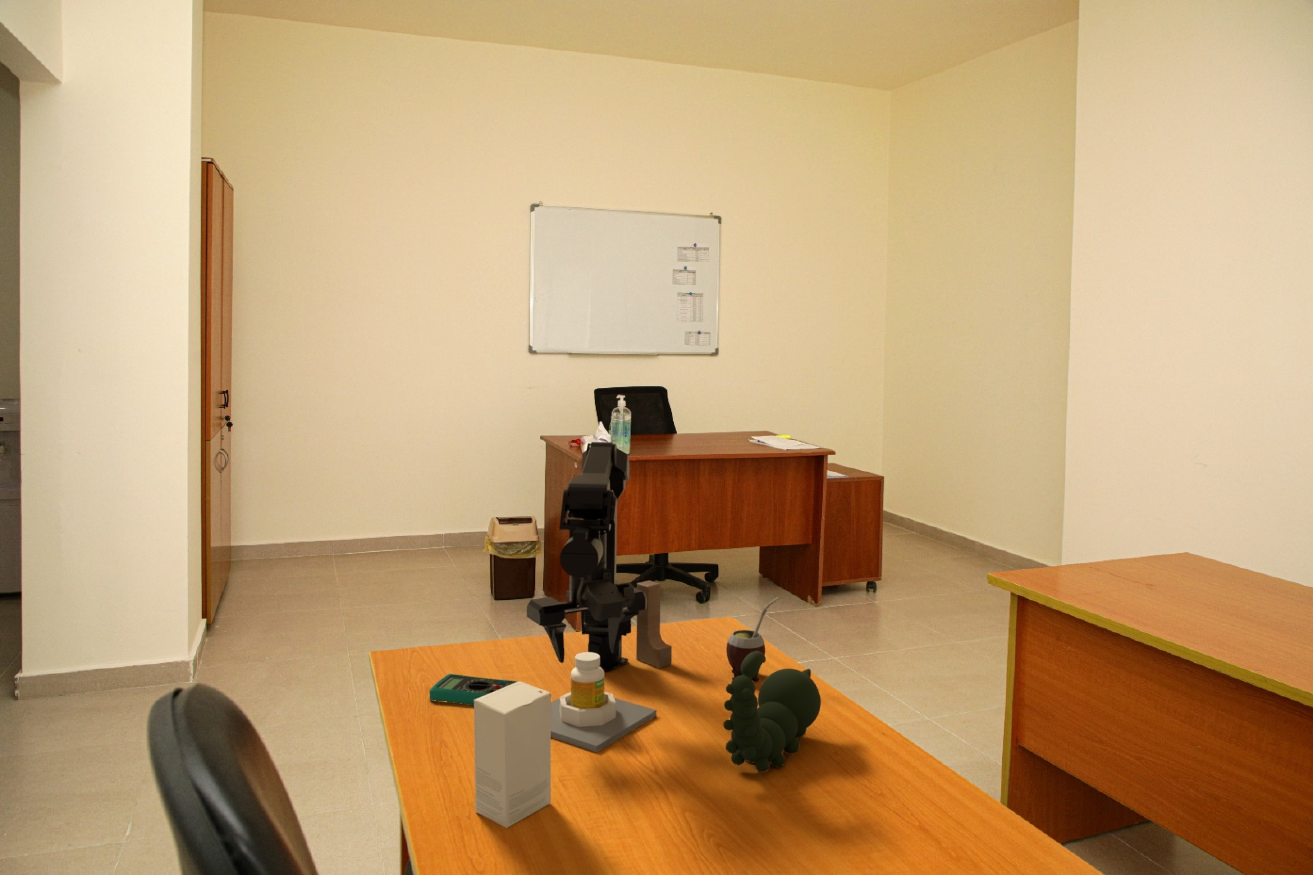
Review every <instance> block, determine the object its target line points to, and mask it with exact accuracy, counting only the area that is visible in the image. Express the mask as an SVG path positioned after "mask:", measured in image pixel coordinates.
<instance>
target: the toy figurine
mask: <svg viewBox="0 0 1313 875" xmlns="http://www.w3.org/2000/svg"><path fill="white" fill-rule="evenodd" d="M766 661H767V659H766V654H765V655H764V654H763V653H762V652H759V651H754V652H751V653H750V654H748V655H747V656H746V657H745V659H744V660H743V662H742V664H741V673H742V675H741V676H737V677H736V678H734V679H733V680H732V681H731V683H730V684H727V685H726V687H725V692H726V693H727V694H730V695H731V696H730V698H729V699H727V700H725V701H724V703H723V706H724V707H723V708H724V709H725V710H726V711H727V712H731V714H730V716H729V718H727V719H726V720H725V721H723V728H724V729H725V730H726V731H728V732H729V731H731V733H730V734H731V735H730V736H731V737H730V738H731V739H730V740H728V741H727V742H726V743H725V750H726V752H728V753H729V754H731V756H730V760H731V763H733V764H734V765H736V766H742V765H743V764H745V762H746V761H747V762H749V763H752V764H754V766H755V769H756V771H758V772H760V773H765V772H768V771H769V769H770V767H771V765H772V766H773V767H775V768H778V769H780V768H782V767H784V765H785V762H786V758H785V756H784V754H783V752H785V753H786V754H789V755H793V754H796V753H797V752H798V751H799V748H800V746H801V744H800V741H799V739H800V738H802V737H804V736H805V734H806V733H807V731H808V730H807V729H808V728H809V727H810V726H812V725H813V724H814V722H815V721H816V720H817V718H818V716H819V714H820V711H821V705H822V698H821V697H822V696H821V693H820V691H819V688H818V687H817V684H816V683H815V682H814V680H813V679H812V678H811V677H812V671H811V668H807V669H804V670H802V671H801V670H798V669H796V668H781V669H778V670H776V671H773V672H772V673H771V674H769V675H768V676H767V677H766V678H765V679H764V680H763V682H762V684H761V686H760V687H759V691H758V697H757V696H756V684H755V682H754V681H753V680H752V679H751V678H753V677H754V676H755V675H756V674H757V673H758V671H759V672H760V669H761V667H762V665H763V664H764V663H766ZM761 664H762V665H761ZM758 674H759V673H758Z"/></svg>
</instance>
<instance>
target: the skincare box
mask: <svg viewBox="0 0 1313 875" xmlns="http://www.w3.org/2000/svg"><path fill="white" fill-rule="evenodd" d="M517 681H518V680H517ZM551 698H552V693H551V692H549V691H548V690H544V689H542V688H539V687H537V686H533V685H531V684H528V683H526V682H524V681H520V680H519V681H518V682H516V683H513V684H511V685H509V686H506V687H504V688H502V689H499V690H497V691H494V692H492V693H490V694H487V695H485V696H482V697H480V698H477V699H475V700H474V705H473V716H474V717H473V718H474V720H473V721H474V722H473V723H474V727H473V728H474V729H473V730H474V732H473V733H474V788H475V789H474V791H475V793H474V799H475V800H474V803H475V806H474V807H475V808H474V809H475V810H474V811H475V812H476V813H477V814H479V815H481V816H483V817H484V818H487V819H488V820H490V821H492V822H494V823H496V824H498V825H500V826H502V827H503V828H505V829H508V828H509V827H511V826H513V825H516V823H518V822H520V821H522V820H523V819H525V818H527V817H529V816H531V815H533V814H534V813H536V812H538V811H539V810H541V809H543V808H545V807H547V806H548V805H550V804H551V803H552V777H551V776H552V774H551V773H552V772H551V771H552V768H551V767H552V765H551V762H552V761H551V760H552V759H551V758H552V755H551V750H552V749H551V747H552V745H551V744H552V742H551V740H552V737H551V702H552V701H551Z"/></svg>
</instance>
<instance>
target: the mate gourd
mask: <svg viewBox="0 0 1313 875" xmlns="http://www.w3.org/2000/svg"><path fill="white" fill-rule="evenodd" d="M779 598H780V597H775V598H774V599H773V600H771V601H770V602H768V603H767V604H766V605H765V606H764V608H762V610H761V612H760V616H759V619H758V623H757V624H756V627H755V630H750V629H740V630H739V629H738V630H735V631H733V632H732V633H731V634H730V635H729V637H728V638H727V643H726V649H725V650H726V657H727V660H728V664H729V665H730V667H731V668H732V670H731V673H732V674H733V677H731V679H732V680H733V679H734V678H736V677H737V676H741V675H742V673H741V664H742V662H743V660H744V659H745V657H746V656H747V655H748V654H750V653H751V652H754V651H759V652H762V653H763V654H764V655H765V656H766V646H765V639H764V638H763V637H762V635H761V633H759V629H760V628H761V625H762V622H763V619H764V616H765V615H766V613H767V612H768V609H769V608H770V607H771V606H772V605H773V604H774V603H775V602H776V601H778V600H779ZM762 665H763V663H762V664H761V666H762ZM759 673H760V670H759V671H758V673H757V674H756V675H755V676H754V677H753V678H751V679H752V680H753V682H754V683H759V682H760V678H758V675H759Z"/></svg>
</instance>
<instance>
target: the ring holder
mask: <svg viewBox="0 0 1313 875" xmlns="http://www.w3.org/2000/svg"><path fill="white" fill-rule="evenodd" d="M655 717H657V709H655V708H651V707H648V706H645V705H640V704H637V703H633V702H632V701H631V702H630V701H627V700H622V699H620V698H616V697H614V694H613V693H611V692H608V691H605V690H604V706H602V707H600V708H592V709H579V708H575V707H572V706H571V691H568V692H567V693H564V694H563V695H561V696H559V697H558V698H556V699H555V700H552V701H551V739H555V740H558V741H561V742H564V743H566V744H570V745H573V746H577V747H579V748H582V749H584V750H587V751H591V752H594V753H598V752H600V751H601V750H603V749H605V748H606V747H608V746H609V745H611V744H613V743H614V742H616V741H617V740H619V739H621V738H622V737H625V736H626V735H627V734H629V733H631V732H632V731H634V730H636V729H637V728H640V726H642V725H643V724H644V725H645V723H648V722H649V721H650V720H652V719H654V718H655Z"/></svg>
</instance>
